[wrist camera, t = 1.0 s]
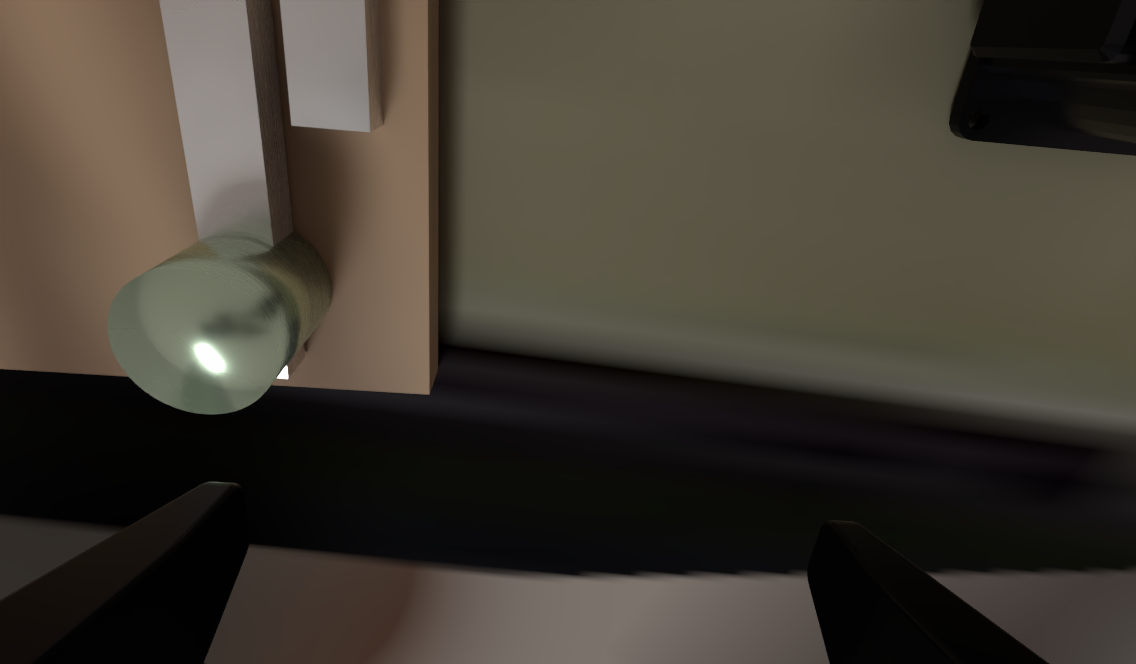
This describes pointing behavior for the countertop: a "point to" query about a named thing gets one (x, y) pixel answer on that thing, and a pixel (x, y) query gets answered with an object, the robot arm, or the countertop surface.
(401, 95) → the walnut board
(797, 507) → the countertop surface
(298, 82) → the base
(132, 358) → the tong arm
